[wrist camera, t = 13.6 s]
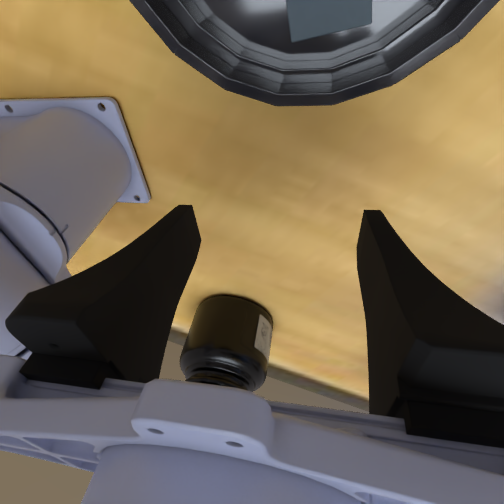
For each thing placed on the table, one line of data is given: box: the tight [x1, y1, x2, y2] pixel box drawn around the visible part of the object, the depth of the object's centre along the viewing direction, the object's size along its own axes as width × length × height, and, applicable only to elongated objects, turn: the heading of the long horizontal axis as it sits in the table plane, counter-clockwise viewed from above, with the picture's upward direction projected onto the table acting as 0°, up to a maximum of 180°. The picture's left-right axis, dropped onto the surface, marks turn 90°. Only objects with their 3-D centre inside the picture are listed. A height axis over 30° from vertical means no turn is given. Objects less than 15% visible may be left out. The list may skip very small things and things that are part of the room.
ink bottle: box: [180, 296, 273, 392], centre depth 32 cm, size 10×9×12 cm
